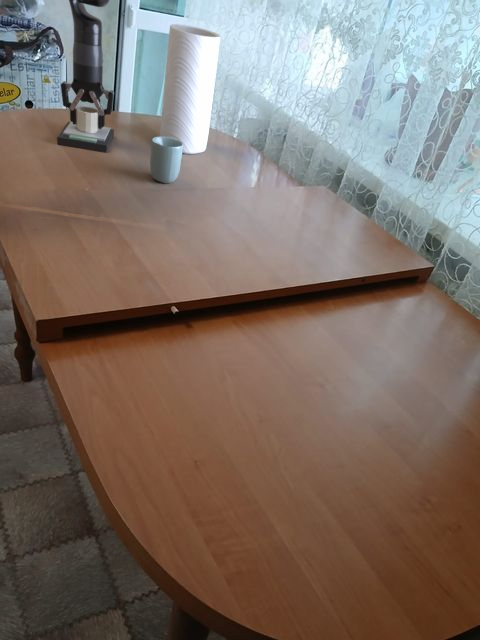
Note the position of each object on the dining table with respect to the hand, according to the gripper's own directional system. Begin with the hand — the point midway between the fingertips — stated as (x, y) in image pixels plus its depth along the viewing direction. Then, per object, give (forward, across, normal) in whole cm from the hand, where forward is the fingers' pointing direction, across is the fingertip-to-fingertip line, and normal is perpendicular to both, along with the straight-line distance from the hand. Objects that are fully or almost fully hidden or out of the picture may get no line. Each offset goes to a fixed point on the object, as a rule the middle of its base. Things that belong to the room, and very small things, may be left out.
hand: (87, 125), depth 154 cm
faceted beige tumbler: (+1, 0, 0) cm, 1 cm away
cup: (+4, +23, -22) cm, 32 cm away
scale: (+4, 0, -1) cm, 4 cm away
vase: (+4, +27, +8) cm, 28 cm away
